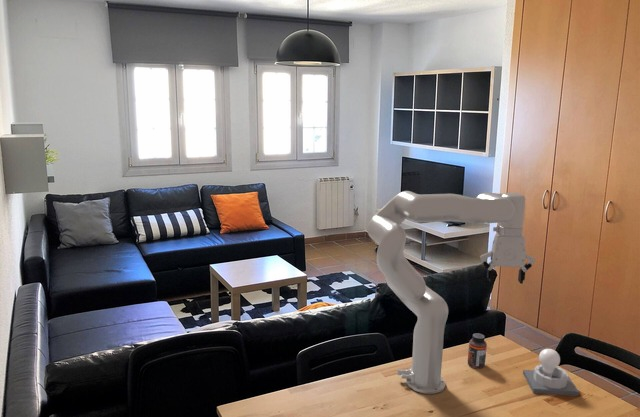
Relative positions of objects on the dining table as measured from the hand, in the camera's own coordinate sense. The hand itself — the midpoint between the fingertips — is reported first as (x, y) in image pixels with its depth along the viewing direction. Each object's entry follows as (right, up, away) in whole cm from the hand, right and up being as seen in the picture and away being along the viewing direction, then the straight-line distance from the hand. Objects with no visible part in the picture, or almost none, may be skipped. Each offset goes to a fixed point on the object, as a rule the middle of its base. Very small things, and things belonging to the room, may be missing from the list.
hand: (505, 281), depth 173 cm
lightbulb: (+14, -33, 0) cm, 36 cm away
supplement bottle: (-6, -32, +13) cm, 34 cm away
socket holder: (+15, -34, +1) cm, 37 cm away
